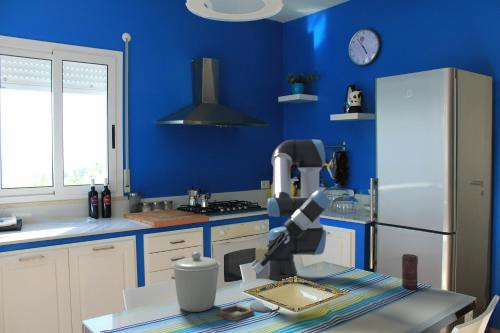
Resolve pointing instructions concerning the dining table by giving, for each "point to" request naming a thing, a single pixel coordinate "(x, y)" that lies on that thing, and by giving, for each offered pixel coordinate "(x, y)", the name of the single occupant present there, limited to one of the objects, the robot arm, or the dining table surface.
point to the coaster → (259, 307)
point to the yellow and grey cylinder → (259, 255)
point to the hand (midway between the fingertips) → (254, 269)
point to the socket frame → (225, 314)
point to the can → (409, 271)
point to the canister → (196, 282)
